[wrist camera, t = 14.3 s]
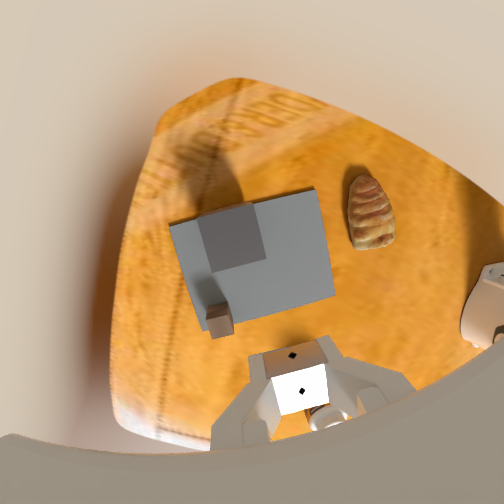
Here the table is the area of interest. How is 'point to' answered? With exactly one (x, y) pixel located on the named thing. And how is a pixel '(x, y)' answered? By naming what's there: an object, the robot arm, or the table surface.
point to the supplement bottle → (324, 416)
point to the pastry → (369, 214)
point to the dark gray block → (231, 236)
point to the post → (219, 320)
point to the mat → (263, 263)
